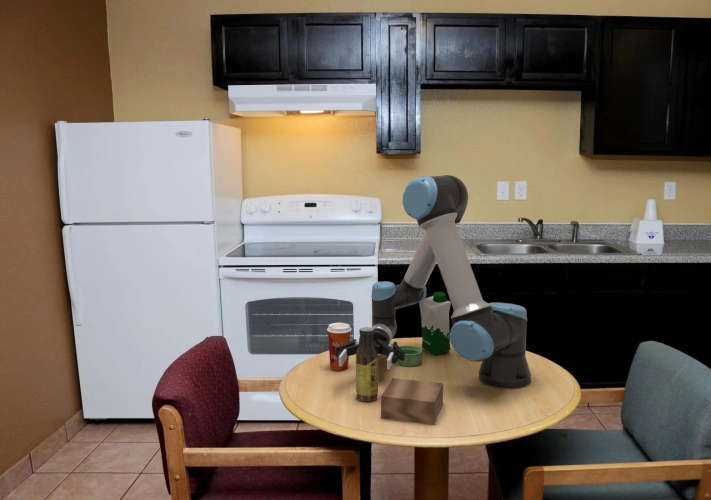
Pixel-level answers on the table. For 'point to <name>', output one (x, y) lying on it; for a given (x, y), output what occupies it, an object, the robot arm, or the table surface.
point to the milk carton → (435, 323)
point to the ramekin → (410, 356)
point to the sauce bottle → (366, 367)
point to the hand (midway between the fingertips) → (364, 363)
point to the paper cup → (338, 343)
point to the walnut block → (412, 401)
